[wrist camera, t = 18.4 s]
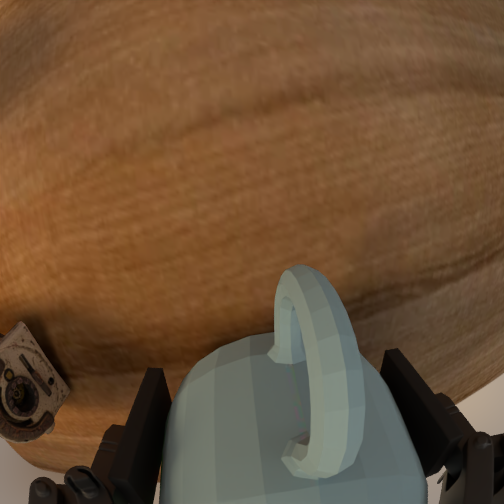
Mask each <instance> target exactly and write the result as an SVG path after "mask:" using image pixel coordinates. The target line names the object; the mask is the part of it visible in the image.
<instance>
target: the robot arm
mask: <svg viewBox="0 0 504 504" xmlns="http://www.w3.org/2000/svg"><path fill="white" fill-rule="evenodd" d="M380 376H381V377H382V379H383V380H384V381H385V383H386V384H387V386H388V387H389V389H390V391H391V394H392V396H393V398H394V400H395V402H396V404H397V407H398V409H399V411H400V413H401V415H402V418H403V420H404V423H405V425H406V428H407V430H408V433H409V435H410V438H411V440H412V442H413V444H414V447H415V449H416V452H417V454H418V457H419V459H420V463H421V466H422V469H423V472H424V475H425V478H427V477H429V476H431V475H433V474H436V473H438V472H439V471H440V470H441V468H442V467H443V465H444V466H445V468H446V469H447V470H446V471H445V472H444V474H443V475H442V476H441V478H440V479H439V480H438V482H437V484H439V483H440V482H441V481H442V480H443V483H442V490H441V496H440V501H439V504H504V433H503V434H498V435H494V436H490V435H488V434H486V433H485V432H476V431H475V430H474V428H473V427H472V426H471V424H470V423H469V422H468V421H467V419H466V418H465V417H464V415H463V414H462V413H461V412H459V409H458V408H457V407H456V406H455V404H454V403H453V401H452V400H451V399H450V398H449V397H448V396H446V395H444V394H443V393H438V394H434V393H433V392H432V390H431V389H430V388H429V387H428V385H427V384H426V383H425V381H424V380H423V379H422V378H421V376H420V375H419V374H418V373H417V371H416V370H415V369H414V368H413V366H412V365H411V364H410V363H409V361H408V360H407V359H406V358H405V356H404V355H403V354H402V353H401V351H400V350H399V349H398V348H395V349H390V350H385V354H384V358H383V362H382V367H381V371H380ZM171 404H172V401H171V398H170V394H169V391H168V387H167V383H166V379H165V376H164V372H163V368H147V371H146V373H145V376H144V378H143V381H142V383H141V386H140V388H139V391H138V394H137V396H136V399H135V401H134V404H133V407H132V409H131V412H130V414H129V417H128V420H127V422H126V425H125V426H121V425H115V424H113V425H112V426H111V427H110V428H109V429H108V430H107V431H106V432H105V434H104V436H103V439H102V443H100V446H99V450H98V451H97V453H96V456H95V458H94V461H93V464H92V466H91V469H90V468H89V467H86V466H75V467H72V468H70V469H69V470H68V471H67V472H66V474H65V476H64V483H65V484H63V485H62V484H55V482H54V481H52V480H51V479H49V478H46V477H39V478H37V479H35V480H34V481H33V482H32V483H31V486H30V492H29V504H153V501H154V496H155V491H156V485H157V480H158V475H159V470H160V465H161V460H162V450H163V440H164V431H165V423H166V419H167V416H168V413H169V410H170V407H171Z"/></svg>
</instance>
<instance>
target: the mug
mask: <svg viewBox="0 0 504 504" xmlns="http://www.w3.org/2000/svg"><path fill="white" fill-rule="evenodd" d="M427 497H428V485H427V481H426V478H425V475H424V472H423V469H422V466H421V463H420V459H419V457H418V454H417V452H416V449H415V447H414V444H413V442H412V440H411V438H410V435H409V433H408V430H407V428H406V425H405V423H404V420H403V418H402V415H401V413H400V411H399V409H398V407H397V404H396V402H395V400H394V398H393V396H392V394H391V391H390V389H389V387H388V386H387V384H386V383H385V381H384V380H383V379H382V377H381V376H380V374H379V373H378V372H377V370H376V369H375V368H374V367H373V366H372V365H371V364H370V363H369V362H368V361H367V360H366V359H365V358H364V357H363V356H362V355H361V354H360V352H359V350H358V345H357V340H356V337H355V334H354V331H353V328H352V325H351V323H350V320H349V317H348V314H347V311H346V309H345V307H344V306H343V304H342V302H341V300H340V298H339V296H338V294H337V292H336V290H335V289H334V288H333V286H332V285H331V283H330V282H329V281H328V279H327V278H326V277H325V276H324V275H323V274H321V273H320V272H319V271H318V270H316V269H313V268H311V267H308V266H306V265H295V266H293V267H291V268H289V269H287V270H285V271H284V272H283V274H282V275H281V278H280V281H279V283H278V286H277V290H276V295H275V308H274V332H271V333H265V334H259V335H252V336H248V337H246V338H243V339H240V340H238V341H235V342H232V343H230V344H227V345H224V346H222V347H220V348H218V349H217V350H215V351H214V352H212V353H211V354H209V355H208V356H206V357H204V358H203V359H201V360H200V361H198V362H197V363H196V365H195V366H194V367H193V368H192V369H191V371H190V372H189V373H188V374H187V375H186V377H185V378H184V379H183V381H182V383H181V385H180V387H179V389H178V391H177V393H176V396H175V398H174V400H173V402H172V404H171V407H170V410H169V413H168V416H167V419H166V423H165V431H164V440H163V450H162V462H161V480H160V496H159V504H428V498H427Z"/></svg>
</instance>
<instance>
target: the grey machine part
mask: <svg viewBox="0 0 504 504" xmlns="http://www.w3.org/2000/svg"><path fill="white" fill-rule="evenodd" d="M69 393H70V388H69V387H68V386H67V384H66V383H65V382H64V381H63V379H62V378H61V377H60V375H59V374H58V373H57V371H56V370H55V369H54V367H53V366H52V365H51V363H50V362H49V360H48V359H47V357H46V356H45V354H44V353H43V351H42V350H41V348H40V347H39V345H38V343H37V342H36V340H35V339H34V337H33V336H32V334H31V333H30V331H29V330H28V328H27V326H26V325H25V324H24V323H23V322H22V321H20V322H17V324H16V325H15V326H14V327H13V328H12V329H11V330H10V331H9V332H8V333H7V334H6V335H3V334H1V333H0V437H1V438H3V439H5V440H7V441H10V442H13V443H28V442H31V441H33V440H36V439H37V438H39V437H40V436H41V435H43V434H44V433H47V434H49V433H51V432H52V431H53V429H54V426H55V423H54V417H55V415H56V413H57V412H58V410H59V408H60V407H61V405H62V404H63V402H64V401H65V399H66V398H67V396H68V395H69Z"/></svg>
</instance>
